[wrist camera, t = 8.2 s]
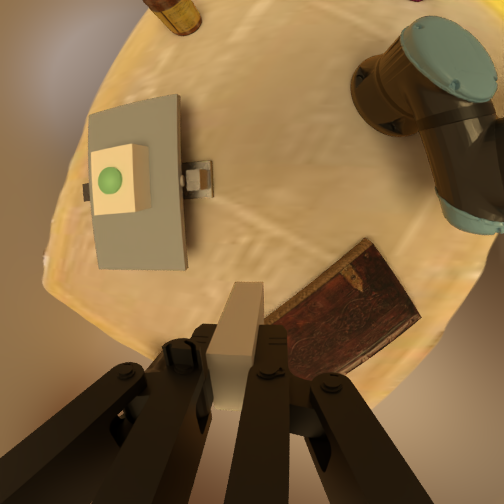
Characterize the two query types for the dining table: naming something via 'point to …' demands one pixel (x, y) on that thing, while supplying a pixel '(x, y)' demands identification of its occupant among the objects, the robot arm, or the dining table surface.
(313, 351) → the hardback book
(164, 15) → the sauce bottle
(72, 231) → the dining table surface
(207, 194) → the pivot stand
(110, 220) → the instrument plate
